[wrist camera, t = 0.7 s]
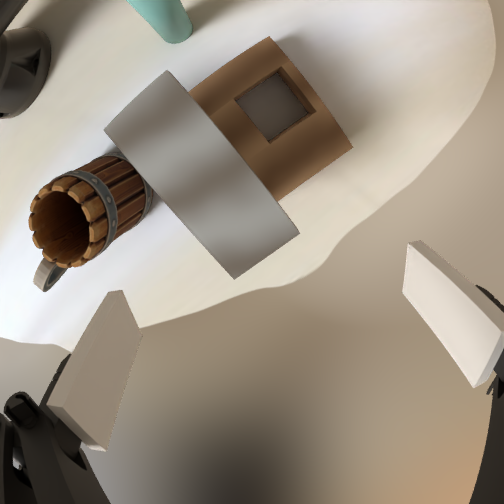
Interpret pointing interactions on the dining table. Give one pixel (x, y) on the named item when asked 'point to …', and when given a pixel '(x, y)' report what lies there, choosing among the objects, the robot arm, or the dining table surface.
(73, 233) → the mug
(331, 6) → the dining table surface
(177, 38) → the peg
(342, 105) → the dining table surface
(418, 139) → the dining table surface
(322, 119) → the socket block
